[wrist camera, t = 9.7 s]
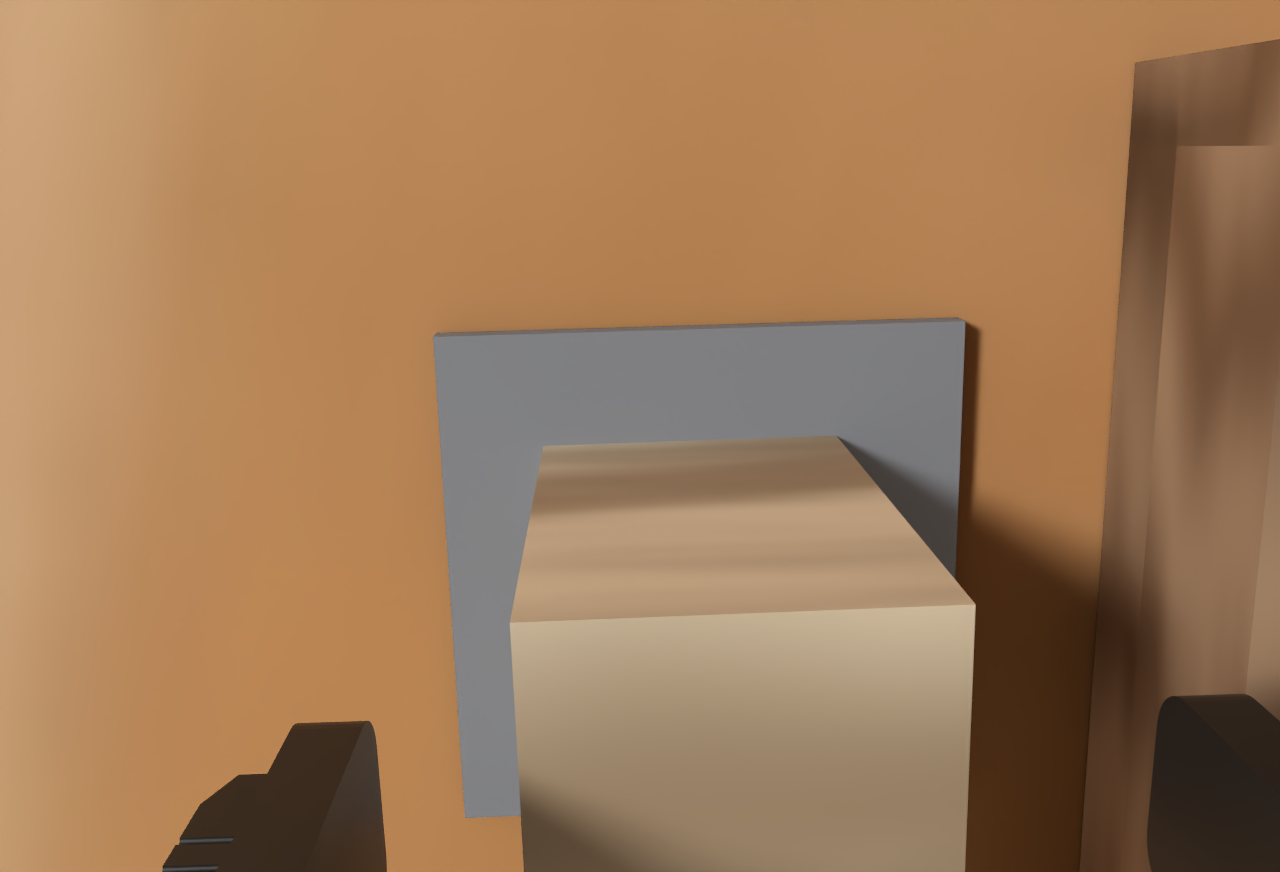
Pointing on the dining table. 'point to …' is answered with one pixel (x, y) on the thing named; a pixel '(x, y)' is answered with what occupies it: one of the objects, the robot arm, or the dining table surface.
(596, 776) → the maple block
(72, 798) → the dining table surface
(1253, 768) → the robot arm
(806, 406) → the felt pad
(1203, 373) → the crate
